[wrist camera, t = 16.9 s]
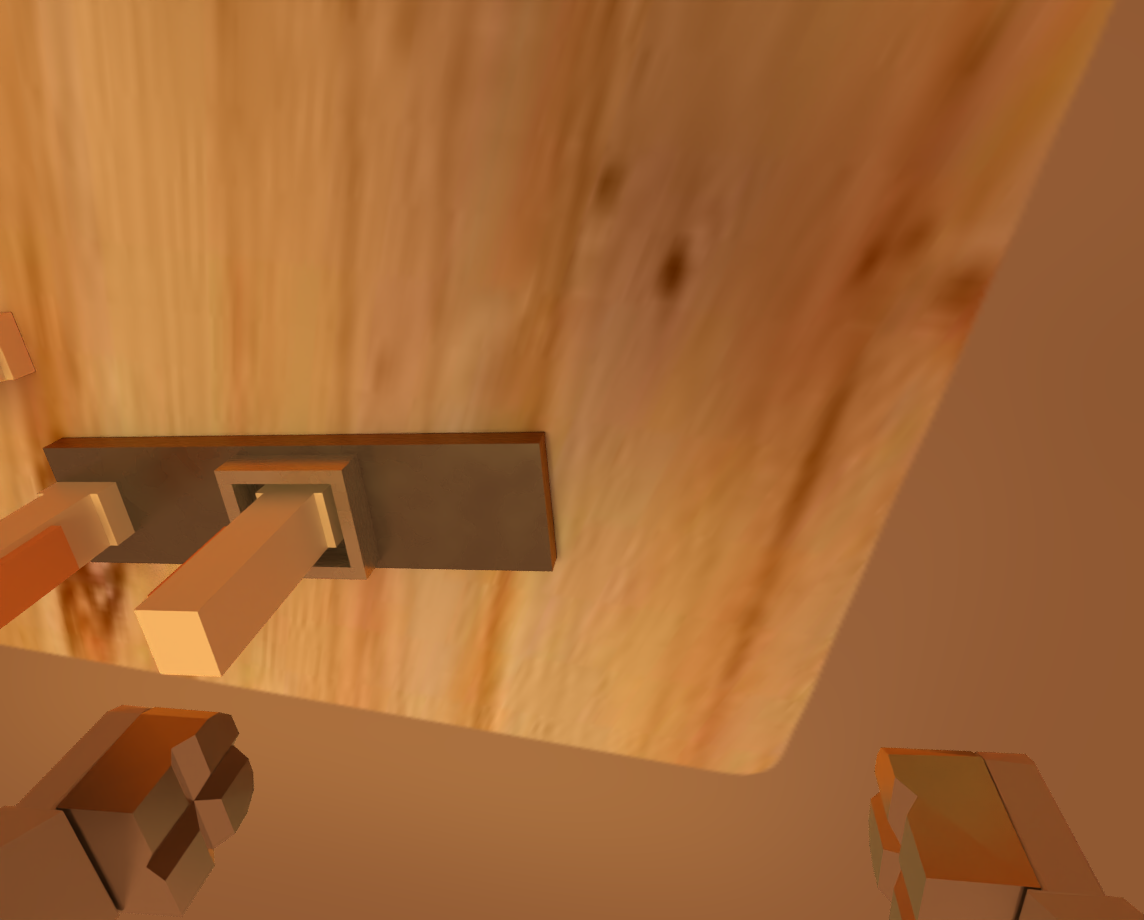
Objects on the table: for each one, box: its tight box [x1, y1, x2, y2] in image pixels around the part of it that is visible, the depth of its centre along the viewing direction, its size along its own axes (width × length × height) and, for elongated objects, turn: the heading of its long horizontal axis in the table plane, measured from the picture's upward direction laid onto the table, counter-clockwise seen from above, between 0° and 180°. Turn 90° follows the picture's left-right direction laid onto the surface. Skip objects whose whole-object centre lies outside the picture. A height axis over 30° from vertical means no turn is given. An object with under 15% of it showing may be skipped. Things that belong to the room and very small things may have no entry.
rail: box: [43, 432, 557, 580], centre depth 42 cm, size 8×30×4 cm, turn 94°
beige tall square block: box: [134, 484, 344, 677], centre depth 37 cm, size 4×4×12 cm
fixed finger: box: [0, 482, 135, 629], centre depth 39 cm, size 4×4×12 cm
